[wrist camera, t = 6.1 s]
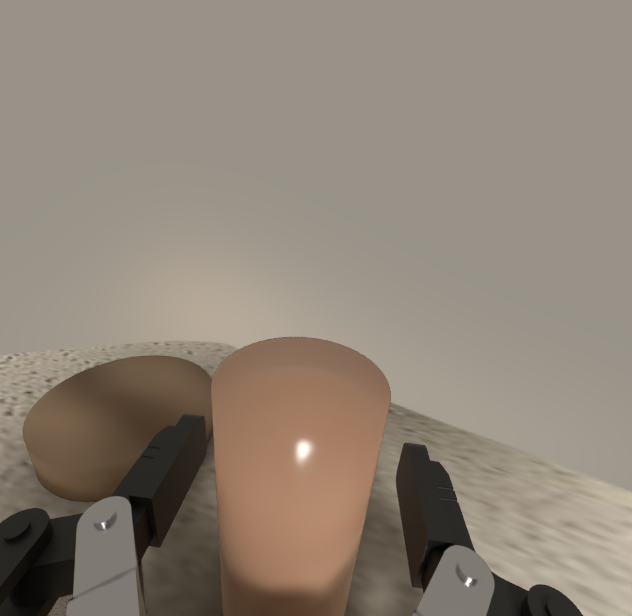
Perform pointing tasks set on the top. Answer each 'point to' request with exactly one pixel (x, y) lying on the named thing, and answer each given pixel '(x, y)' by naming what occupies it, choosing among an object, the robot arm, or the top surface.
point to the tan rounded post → (294, 472)
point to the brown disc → (110, 421)
